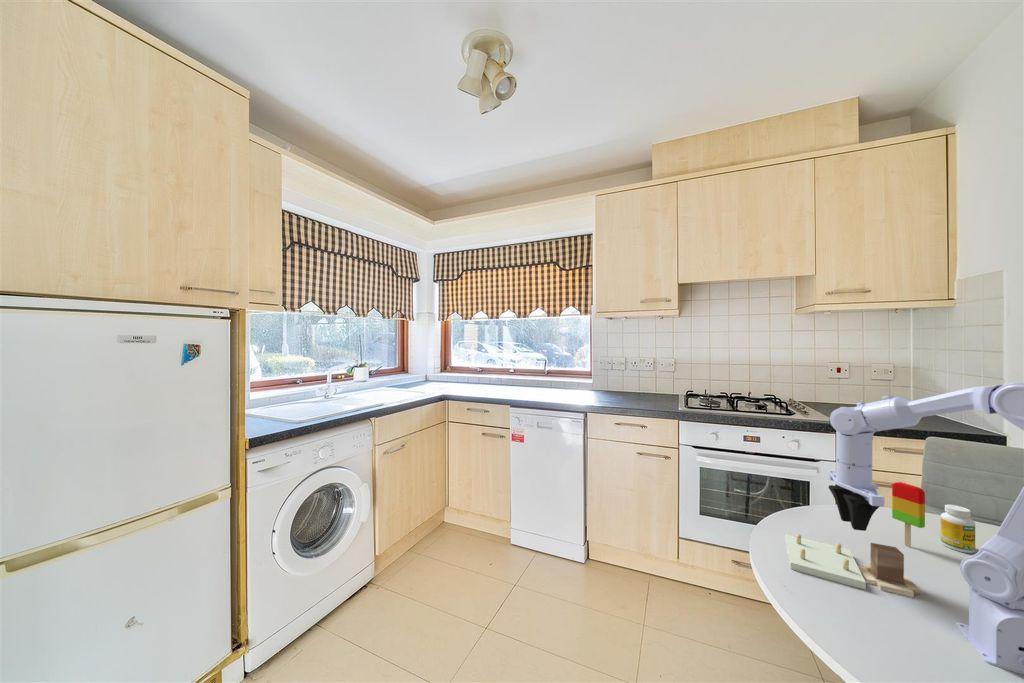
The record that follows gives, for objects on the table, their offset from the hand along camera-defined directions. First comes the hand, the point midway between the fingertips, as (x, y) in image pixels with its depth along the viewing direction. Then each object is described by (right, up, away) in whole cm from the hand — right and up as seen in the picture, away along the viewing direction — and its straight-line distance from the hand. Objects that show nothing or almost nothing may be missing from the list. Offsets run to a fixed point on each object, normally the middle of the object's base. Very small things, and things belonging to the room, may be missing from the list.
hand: (853, 525), depth 79 cm
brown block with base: (+4, -10, -3) cm, 11 cm away
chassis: (-4, -10, +3) cm, 11 cm away
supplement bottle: (+34, -10, +9) cm, 37 cm away
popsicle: (+23, -10, +10) cm, 27 cm away
